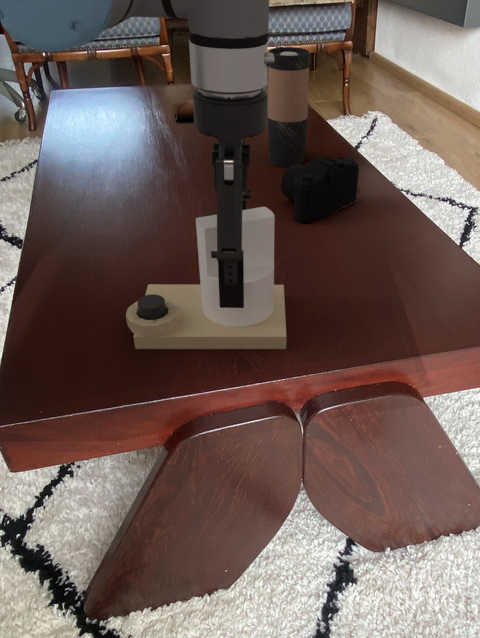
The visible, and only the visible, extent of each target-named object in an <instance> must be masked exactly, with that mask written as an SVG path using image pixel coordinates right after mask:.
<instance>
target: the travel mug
mask: <svg viewBox="0 0 480 638" xmlns="http://www.w3.org/2000/svg"><path fill="white" fill-rule="evenodd" d="M270 52H271V53H273V55H274V62H273V63H272V64H267V65H268V66H267V86H268V87H267V95H268V108H267V132H268V133H267V135H268V137H267V138H268V160H269V164H271V165H273V166H276V167H281V168H289V167H290V166H291V165H295V164H297V165H300V164H301V163H303V162H304V163H305V154H306V143H307V128H308V109H309V106H308V105H309V80H310V77H309V76H310V51H309V50H308V49H306V48H303V47H295V46H294V47H293V46H280V47H273V48H271V49H269V50H268V52H267V53H270ZM304 163H303V164H304ZM301 165H302V164H301Z"/></svg>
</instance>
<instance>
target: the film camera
mask: <svg viewBox="0 0 480 638" xmlns="http://www.w3.org/2000/svg"><path fill="white" fill-rule="evenodd" d="M359 173H360V164H359V163H357V162H356V161H355V158H353V157H345V159H344V158H343V156H342V155H339V156H338V157H337V158H336V159H335V158H331V157H327V158H325V157H323V156H321V155H320V156H318V157H315V158H313V159H311V160H310V161H308V162H307V163H306V164H304V165H303V164H301V165H297V164H295V165H291V166H290V167H287V168H286V169H285V171H283V174H282V176H281V182H280V191H281V193H282V195H283V196H284V197H286V198H287V199H288V200H289V201H291V202H293V215H292V216H293V220H294V221H295V222H297V223H299V224H310V223H313V222H315V221H317V220H320V219H322V218H325V217H327V216H329V215H328V214H330V215H331V213H332V212H334V211H336V210H338V209H340V208H342V207H344V206H346V205H349V204H350V203H352V202H354V201H355V200H356V201H357V193H358V182H359ZM356 201H355V202H356ZM349 206H350V205H349ZM336 212H337V211H336ZM334 213H335V212H334ZM332 214H333V213H332ZM326 215H327V216H326ZM324 216H325V217H324Z"/></svg>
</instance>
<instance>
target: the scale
mask: <svg viewBox="0 0 480 638" xmlns="http://www.w3.org/2000/svg"><path fill="white" fill-rule="evenodd" d="M151 294H155V295H160V296H162V297H163V298H164V299H165V306H166V315H165V316H164V317H163V318H160V319H156V320H145V319H142V318H141V317H140V316H139V310H138V304H137V302H138V300H137V301H134V303H133V304H131V305H130V306H128V307H127V310H126V313H125V319H126V325H127V327H128V328H129V330H130V332H132V333H133V343H134V348H135V350H286V349H287V321H286V318H287V317H286V302H285V301H286V300H285V299H286V298H285V284H274V309H273V312H272V314H271V315H270V316H269V317H268V318H267V319H265V320H264V321H262V322H260V323H257V324H254V325H250V326H244V327H231V326H224V325H221V324H218V323H215V322H213V321H211V320H210V319H208V318H207V317H206V316H205V315H204V312H203V310H202V298H201V284H200V283H199V284H198V283H197V284H190V283H189V284H185V283H183V284H181V283H180V284H179V283H178V284H175V283H174V284H171V283H169V284H168V283H167V284H164V283H163V284H161V283H159V284H155V283H151V284H149V283H148V285H147V288H146V291H145V295H144V296H146V295H151Z"/></svg>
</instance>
